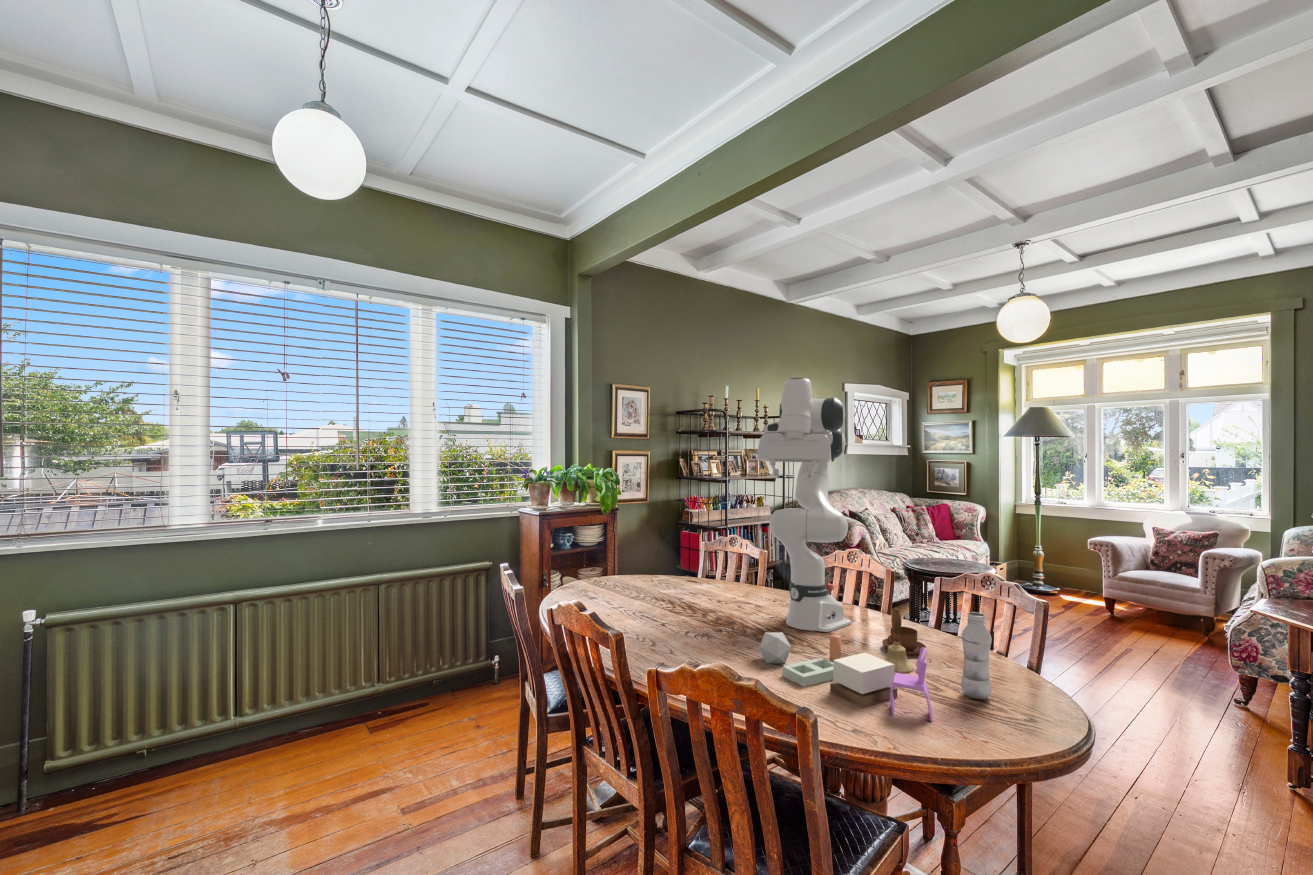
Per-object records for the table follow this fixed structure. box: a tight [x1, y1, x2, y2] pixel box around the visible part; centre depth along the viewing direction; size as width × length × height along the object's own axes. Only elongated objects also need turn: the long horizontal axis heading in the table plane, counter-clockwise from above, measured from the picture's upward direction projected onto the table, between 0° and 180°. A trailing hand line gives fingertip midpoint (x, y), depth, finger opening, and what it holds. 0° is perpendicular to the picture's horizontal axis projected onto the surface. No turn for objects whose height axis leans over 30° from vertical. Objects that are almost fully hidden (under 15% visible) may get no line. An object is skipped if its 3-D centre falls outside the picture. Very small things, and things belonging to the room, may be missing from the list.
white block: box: [833, 652, 895, 694], centre depth 143 cm, size 11×9×5 cm
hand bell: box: [884, 607, 914, 674], centre depth 161 cm, size 8×8×16 cm
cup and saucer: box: [882, 625, 927, 656], centre depth 174 cm, size 12×12×6 cm
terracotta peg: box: [829, 634, 842, 662], centre depth 162 cm, size 3×3×8 cm
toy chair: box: [889, 647, 934, 723], centre depth 134 cm, size 8×9×15 cm
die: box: [758, 631, 792, 664], centre depth 165 cm, size 8×9×10 cm
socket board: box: [782, 656, 834, 688], centre depth 154 cm, size 14×8×2 cm, turn 119°
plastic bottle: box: [960, 611, 993, 700], centre depth 142 cm, size 6×7×20 cm
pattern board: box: [829, 681, 898, 708], centre depth 143 cm, size 12×10×2 cm
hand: (792, 476), depth 164 cm, fingers open, 8 cm apart
